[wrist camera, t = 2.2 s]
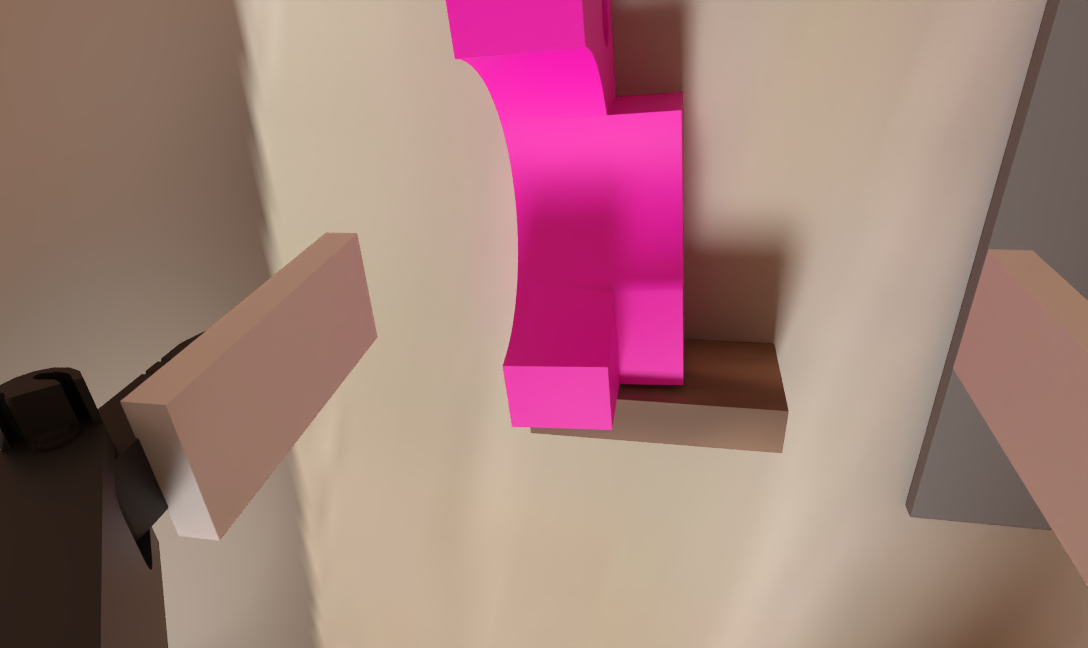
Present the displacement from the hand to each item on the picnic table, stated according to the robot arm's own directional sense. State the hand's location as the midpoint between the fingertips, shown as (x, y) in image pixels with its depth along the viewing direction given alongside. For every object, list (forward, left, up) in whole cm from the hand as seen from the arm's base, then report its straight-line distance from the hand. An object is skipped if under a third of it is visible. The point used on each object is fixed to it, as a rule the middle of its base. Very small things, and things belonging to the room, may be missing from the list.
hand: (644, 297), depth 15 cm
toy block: (-1, +2, -14) cm, 14 cm away
